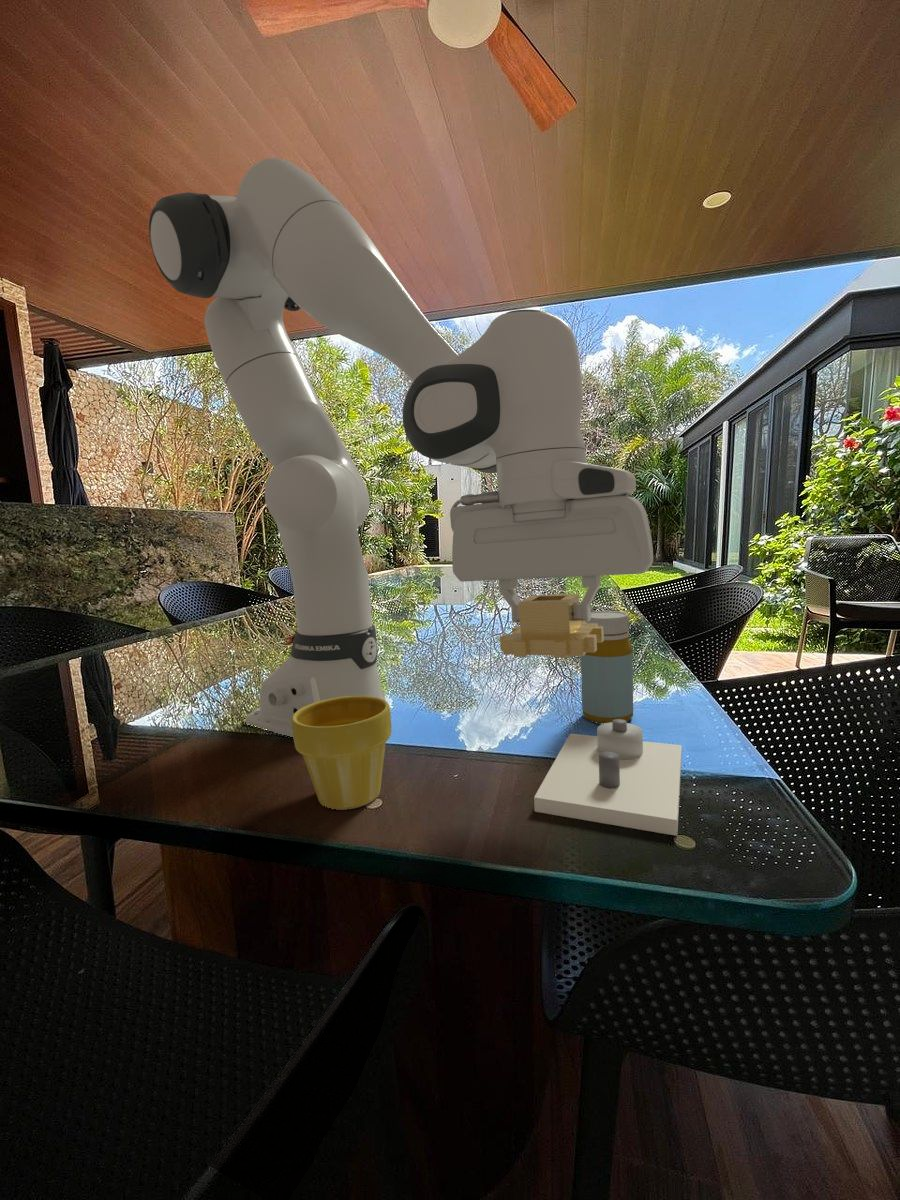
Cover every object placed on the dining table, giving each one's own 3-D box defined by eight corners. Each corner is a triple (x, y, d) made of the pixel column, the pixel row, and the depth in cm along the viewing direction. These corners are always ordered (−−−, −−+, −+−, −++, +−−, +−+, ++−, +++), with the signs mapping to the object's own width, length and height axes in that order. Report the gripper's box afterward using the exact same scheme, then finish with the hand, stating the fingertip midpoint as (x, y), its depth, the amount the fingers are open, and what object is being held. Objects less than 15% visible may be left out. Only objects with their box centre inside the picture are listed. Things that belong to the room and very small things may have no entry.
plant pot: (302, 781, 62) (294, 700, 61) (390, 768, 65) (384, 689, 63) (297, 828, 52) (287, 733, 51) (402, 810, 55) (395, 718, 53)
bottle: (636, 726, 73) (635, 618, 71) (583, 726, 74) (580, 619, 72) (629, 709, 80) (628, 609, 78) (581, 708, 81) (578, 611, 79)
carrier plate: (534, 811, 53) (532, 763, 52) (570, 744, 68) (569, 706, 68) (677, 835, 48) (677, 782, 47) (681, 757, 63) (681, 716, 62)
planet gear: (493, 656, 54) (489, 607, 53) (522, 635, 62) (519, 592, 62) (590, 658, 49) (587, 605, 49) (607, 635, 58) (604, 589, 57)
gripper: (435, 496, 55) (447, 627, 57) (645, 470, 46) (651, 626, 48) (460, 497, 61) (471, 616, 63) (651, 474, 52) (657, 614, 54)
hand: (551, 621), depth 55 cm, fingers closed on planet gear, 5 cm apart
